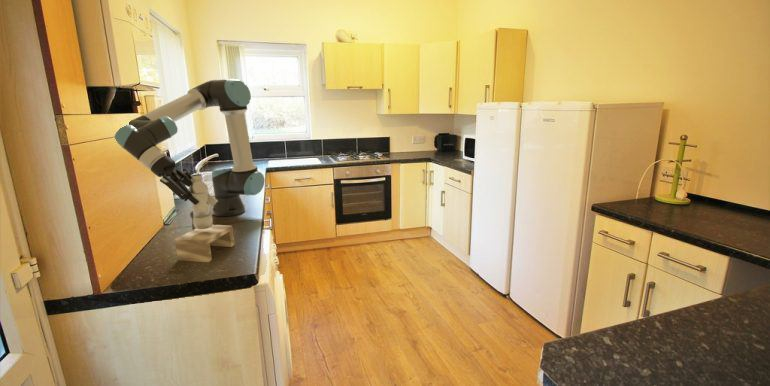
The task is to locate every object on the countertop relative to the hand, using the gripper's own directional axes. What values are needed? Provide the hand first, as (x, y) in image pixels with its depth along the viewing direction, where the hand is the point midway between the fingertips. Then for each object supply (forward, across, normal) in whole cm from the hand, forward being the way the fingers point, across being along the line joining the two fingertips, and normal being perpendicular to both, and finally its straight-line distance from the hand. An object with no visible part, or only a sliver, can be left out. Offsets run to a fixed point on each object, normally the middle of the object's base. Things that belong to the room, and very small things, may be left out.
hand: (210, 206), depth 130 cm
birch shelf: (+10, 0, -15) cm, 18 cm away
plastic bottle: (+4, 0, -9) cm, 9 cm away
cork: (+2, -18, -24) cm, 30 cm away
